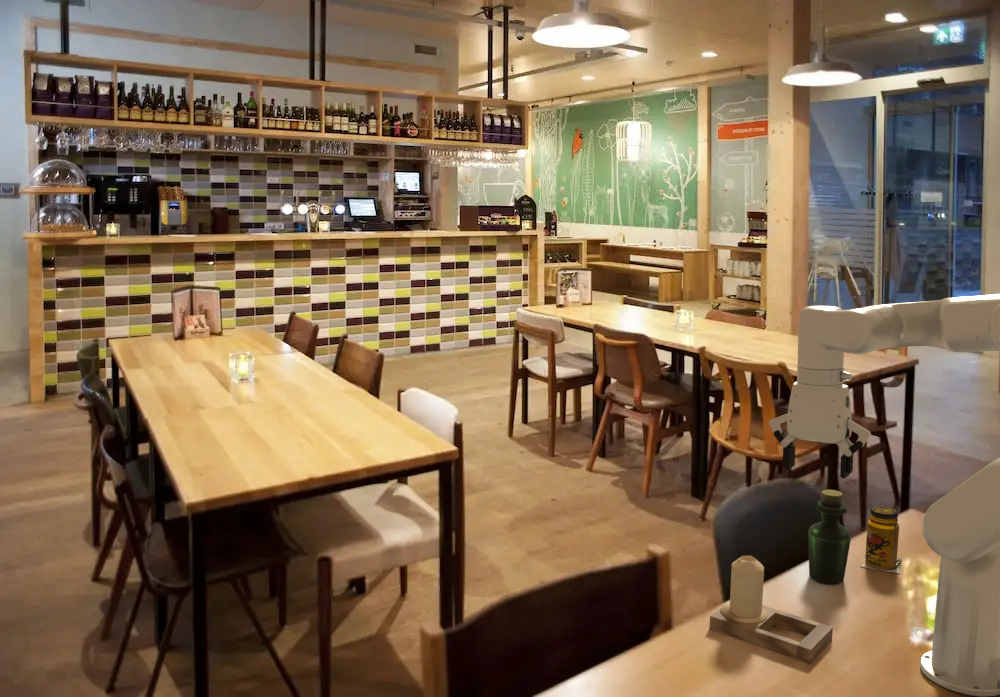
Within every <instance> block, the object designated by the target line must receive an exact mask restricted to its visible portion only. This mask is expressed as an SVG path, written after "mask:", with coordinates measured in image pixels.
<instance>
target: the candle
mask: <svg viewBox="0 0 1000 697" xmlns="http://www.w3.org/2000/svg"><path fill="white" fill-rule="evenodd" d="M730 572H731V573H730V574H731V575H730V591H729V592H730V595H729V601H730V611H731V613H733V614H734V615H736V616H739V617H742V618H757V617H759V616H760V615H761V613H762V605H763V595H764V580H765V579H764V578H765V577H764V576H765V567H764V565H763V564H762V563H761V562H760V561H758V559H757V558H755V557H754V556H753V555H742V556H740V557H738V558H737V559H736V560H734V561H733V562H732V563H731V571H730Z"/></svg>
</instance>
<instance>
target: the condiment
mask: <svg viewBox="0 0 1000 697" xmlns="http://www.w3.org/2000/svg"><path fill="white" fill-rule="evenodd" d="M898 518H899V512H898V511H897V510H896V509H894V508H892V507H887V506H872V507H871V508H870V514H869V520H868V521H867V526H866V529H867V530H866V539H865V540H866V541H865V542H866V544H865V551H864V554H863V558H862V560H863V559H866V560H865V563H866V564H862V563H861V565H860V567H862V568H866V569H871V570H875V571H880V572H881V571H882V572H888V573H889V572H890V573H895V574H900V571H901V566H902V560H903V559H902V557H898V550H899V549H898V548H899V538H900V537H899V534H900V525H899V523H898V522H899V519H898ZM865 553H866V554H865ZM864 556H865V558H864ZM897 559H898V560H897ZM897 562H899V563H897ZM896 563H897V564H898V565H896ZM864 565H866V566H865V567H864ZM899 566H900V567H899Z"/></svg>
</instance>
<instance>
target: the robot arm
mask: <svg viewBox="0 0 1000 697" xmlns="http://www.w3.org/2000/svg"><path fill="white" fill-rule="evenodd" d="M797 334H798V336H797V337H798V338H797V339H798V340H797V367H796V368H797V369H796V373H797V374H796V381H795V382H793V384H792V387H791V391H790V392H791V393H790V396H789V402H788V409H787V410H788V411H787V413H785V414H783V415H782V414H781V415H780V416H777V417H775V418H772V419H770V420H769V421H768V424H769V427H770V429H771V430H772V432H773V436H774V437H775V439H776V440H777V441H778V442H779V443H780V446H781V448H782V464H784V470H791V469H792V468H793V467H795V465H796V446H795V444H794V442H795V441H796V439H797V440H802V441H808V442H809V441H810V442H817V443H823V444H832V445H837V447H838V448H839V449H840V450H841V452H842V455H841V456H840V467H839V468H840V469H839V470H840V471H839V472H840V475H839V477H840V478H841V479H846V478H847V477H849V476H850V474H852V473H853V469H854V454H855V453H856V452H858V451H859V450H860V449H862V448H863V447H864V446H865V444H866V442H868V439H870V436H872V433H871V430H868V429H867V428H865V427H864V426H862V425H860V424H859V423H857V422H855V421H854V420H852V407H851V405H852V404H851V395H850V391H849V385H847V384H844V383H845V382H846V381H847V382H848V381H849V382H850V381H851V380H852V378H853V374H852V373H851V372H848V371H846V370H845V367H844V363H845V362H844V359H845V353H846V354H850V355H865V354H868V353H872V352H875V351H880V350H883V349H884V350H885V349H890V348H907V347H940V348H943V349H945V350H947V351H948V352H951V353H970V352H971V353H974V352H976V353H977V352H978V353H979V352H998V351H999V352H1000V293H994V294H993V293H992V294H983V295H968V296H967V295H966V296H956V297H955V296H954V297H945V298H942V299H939V300H927V301H913V302H912V301H911V302H899V303H897V302H896V303H887V304H886V303H885V304H876V305H869V306H864V307H859V308H852V309H842V308H841V307H839V306H833V305H809V306H805V307H804V306H803V308H801V309H800V311H799V313H798V333H797ZM783 423H786V432H787V434H786V433H785V431H784V430H783V429H782V427H781V424H783ZM852 432H853V433H855V434H857V436H858V437H857V440H856V441H855V442H854V443H852V442H851V440H850V438H851V436H852ZM922 534H923V538H924V539H925V542H926V544H927V545H928V547H929V549H931V550H932V551H933V552H934V553H935V554H936V555H938V556H939V557H940V563H939V564H940V565H939V573H938V581H937V594H936V601H935V602H936V604H935V612H934V614H935V616H934V625H933V634H932V636H933V637H932V647H931V650H929V651H927V652H925V653H924V654H922V656H921V657H920V661H919V665H920V666H919V668H920V669H921V671H922V673H923V675H925V676H926V677H927V678H928V679H929V680H931V681H932V682H934V683H935V684H937V685H939V686H940V687H942V688H945V689H947V690H949V691H952V692H955V693H960V694H962V695H968V696H974V697H996V696H999V695H1000V457H998V458H997V459H994V460H993V461H991V462H990V463H988V464H987V465H985V466H983V468H981V469H980V470H978V471H977V472H976V473H974V474H973V475H971V476H970V477H969V478H967V479H966V480H964V481H963V482H961V483H960V484H959V485H957V486H956V487H954V488H953V489H952V490H951V491H949V492H948V493H946V494H945V495H943V496H942V497H941V498H939V499H938V500H936V501H935V502H934V503H932V504H931V505H930V506H929V507H928V509H927V511H926V512H925V514H924V517H923V520H922Z"/></svg>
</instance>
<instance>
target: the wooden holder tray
mask: <svg viewBox="0 0 1000 697" xmlns="http://www.w3.org/2000/svg"><path fill="white" fill-rule="evenodd" d="M774 627H777V628H781V629H784V630H786V631H790V632H793V633H796V634H799V635H803V636H805V637H804V638H803V639H802V640H801V641H799V640H795V639H791V638H789V637H785V636H782V635H780V634H776V633H773V632H770V631H771V630H772V628H774ZM709 630H712V631H715V632H717V633H720V634H722V635H726V636H728V637H731V638H734V639H736V640H739V641H743V642H745V643H749V644H752V645H754V646H757V647H760V648H763V649H766V650H769V651H771V652H774V653H777V654H780V655H783V656H786V657H789V658H791V659H794V660H797V661H800V662H803V663H806V664H809V665H810V664H811V663H812V662H814V660H815V659H816V658H817V657H818V656H819V655H820V654H821V653H822V651H823V650H825V648H827V647H828V646H829V645H830V644H831V643H832V641H833V634H834V632H833V630H834V627H833V626H830V625H827V624H823V623H820V622H817V621H814V620H811V619H807V618H805V617H802V616H798V615H794V614H793V613H792V614H791V613H789V612H785V611H782V610H780V609H776V608H773V607H770V606H766V605H763V604H762V613H761V615H760V616H759V617H757V618H742V617H739V616H736V615H734V614H733V613H731V611H730V600H729V601H727V602H725V603H723V604H721V606H720V608H718V609H717V610H716V611H714V612H712V614H710V616H709Z"/></svg>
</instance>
